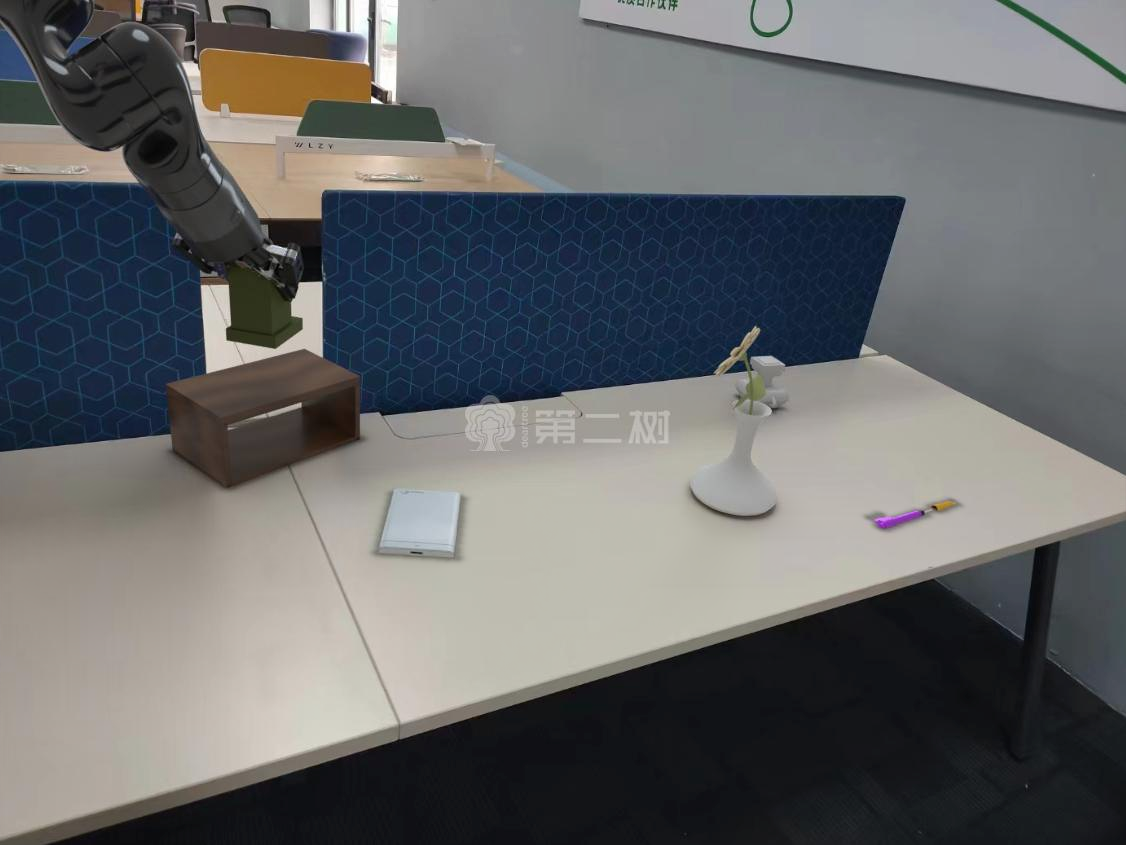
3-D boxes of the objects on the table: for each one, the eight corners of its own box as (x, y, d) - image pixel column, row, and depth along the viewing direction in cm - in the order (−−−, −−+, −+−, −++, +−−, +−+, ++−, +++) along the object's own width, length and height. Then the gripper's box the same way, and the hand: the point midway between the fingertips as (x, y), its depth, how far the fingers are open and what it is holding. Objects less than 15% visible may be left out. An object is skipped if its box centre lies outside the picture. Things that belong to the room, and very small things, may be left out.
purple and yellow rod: (883, 532, 108) (957, 508, 117) (883, 523, 108) (958, 500, 116) (865, 525, 111) (939, 502, 119) (866, 517, 110) (940, 495, 119)
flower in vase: (720, 471, 119) (757, 302, 108) (790, 506, 112) (836, 330, 101) (662, 498, 111) (696, 318, 100) (733, 538, 104) (778, 350, 93)
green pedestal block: (275, 349, 96) (273, 272, 92) (226, 340, 97) (221, 264, 93) (302, 329, 103) (301, 257, 99) (256, 321, 103) (253, 249, 99)
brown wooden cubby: (172, 455, 107) (165, 383, 102) (306, 413, 121) (304, 348, 117) (226, 493, 100) (220, 418, 96) (360, 443, 115) (360, 376, 111)
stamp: (789, 416, 139) (801, 369, 136) (755, 418, 137) (766, 371, 133) (761, 394, 147) (771, 349, 143) (728, 395, 144) (737, 349, 141)
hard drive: (393, 487, 103) (378, 545, 91) (461, 492, 103) (454, 550, 92) (393, 499, 103) (378, 557, 92) (460, 503, 104) (453, 562, 93)
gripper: (287, 185, 83) (335, 272, 99) (151, 164, 84) (221, 254, 100) (263, 251, 81) (317, 329, 97) (124, 228, 82) (200, 309, 98)
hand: (268, 290), depth 98 cm, fingers closed on green pedestal block, 5 cm apart
